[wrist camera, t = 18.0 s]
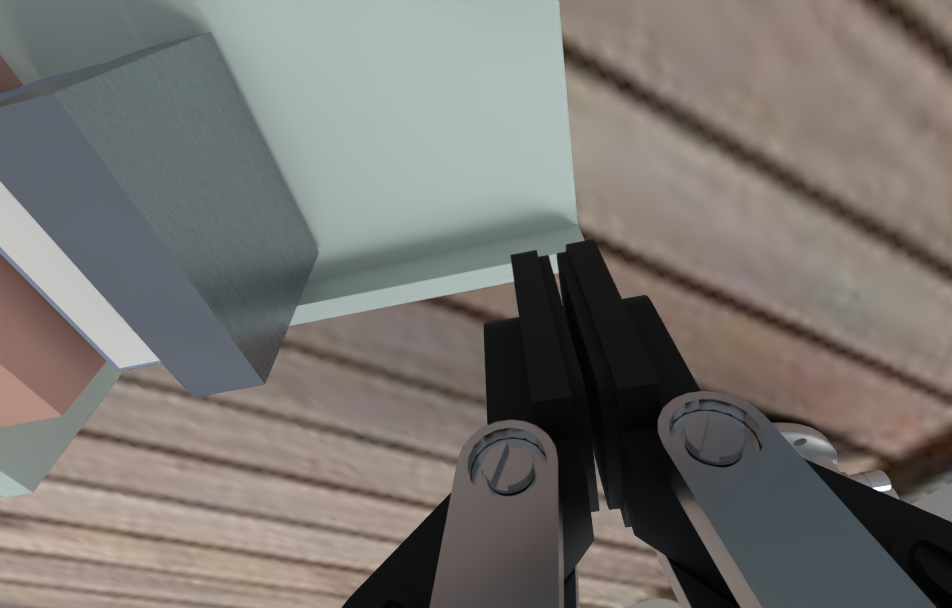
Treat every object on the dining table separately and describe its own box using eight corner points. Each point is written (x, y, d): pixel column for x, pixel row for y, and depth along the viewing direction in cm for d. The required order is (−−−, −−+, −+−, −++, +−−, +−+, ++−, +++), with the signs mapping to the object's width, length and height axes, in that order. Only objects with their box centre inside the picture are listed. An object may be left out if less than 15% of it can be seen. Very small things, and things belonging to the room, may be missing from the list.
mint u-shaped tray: (540, -163, 14) (650, -283, 6) (575, 234, 23) (641, 387, 15) (-117, 24, 16) (-628, 103, 9) (142, 323, 25) (3, 497, 17)
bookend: (209, 31, 16) (53, 93, 10) (319, 252, 21) (265, 384, 15) (142, 49, 16) (-54, 121, 10) (267, 263, 22) (193, 397, 15)
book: (143, 52, 16) (17, 100, 12) (266, 262, 22) (215, 354, 17) (41, 79, 17) (-122, 136, 12) (187, 279, 22) (116, 373, 17)
